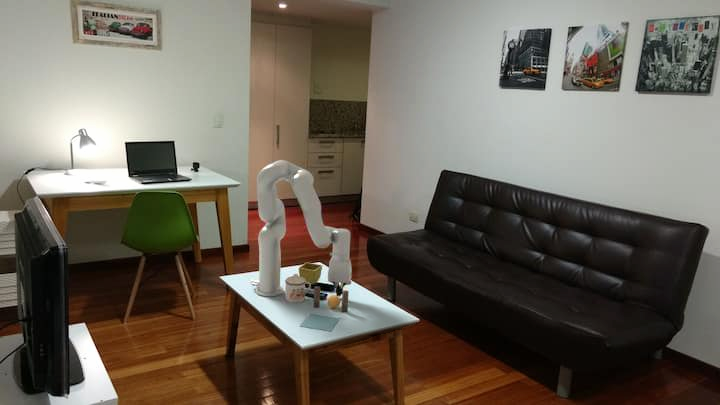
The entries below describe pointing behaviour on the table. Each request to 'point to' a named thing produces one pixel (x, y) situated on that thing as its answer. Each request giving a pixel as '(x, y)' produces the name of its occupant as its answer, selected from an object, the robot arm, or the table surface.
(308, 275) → the flower pot
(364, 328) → the table surface
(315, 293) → the left post
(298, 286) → the teacup with lid
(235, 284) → the table surface
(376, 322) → the table surface
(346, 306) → the right post
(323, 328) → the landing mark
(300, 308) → the table surface
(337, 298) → the ball
